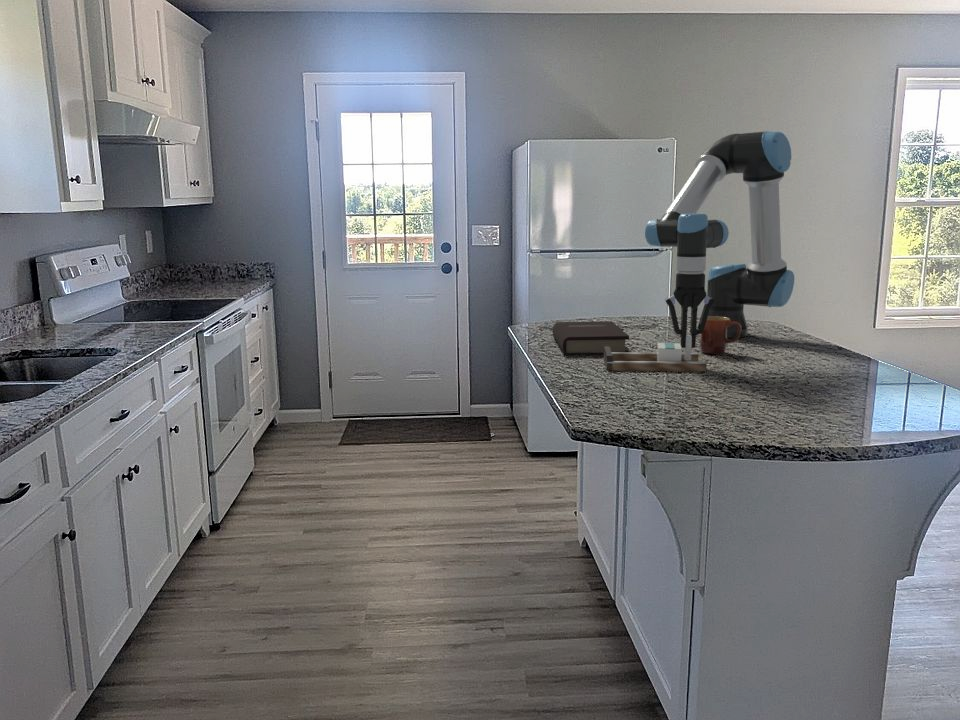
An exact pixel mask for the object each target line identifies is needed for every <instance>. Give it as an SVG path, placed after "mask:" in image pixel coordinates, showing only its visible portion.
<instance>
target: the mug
mask: <svg viewBox="0 0 960 720" xmlns="http://www.w3.org/2000/svg"><path fill="white" fill-rule="evenodd" d="M700 318H701V316H700V317H698V322H699V321H700ZM733 324H735V325H737V326H738V332H737V335H736V337H735V338H727V327H728V326H730V325H733ZM740 334H741V325H740V323H738V322H735V321H730V318H727V317H719V316H708V317H707V321H706V324H705V327H704V331H703V333H702V334H700V337H699V339H700V340H699V348H700V349H699V350H700V352H701V353H703V354H705V355H711V356H712V355H713V356H714V355H715V356H717V355H723V354H724V353H725V352H726V349H727V344H730V343H734V342H735V341H737V340H739V336H740Z"/></svg>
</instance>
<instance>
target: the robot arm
mask: <svg viewBox="0 0 960 720" xmlns="http://www.w3.org/2000/svg"><path fill="white" fill-rule="evenodd" d="M791 161H792V148H791V145H790V141H789V139H788V137H787V136H786V135H785V134H784V133H783V132H781V131H769V130H767V131H755V132H744V133H732V134H728V135H725V136H723V137H721V138H719V139H717V140H716V141H715V142H714V143H712V144H711V145H710V146H708V147H707V148H706V149H705V150H704V151H703V152H702V153H701V154H700V156H699V157H698V158H697V160H696V162H695V164H694V165H695V166H694V167H695V169H694V170H693V172H692V173H691V175H689V177H688V179H687V181H686V182H685V183H684V185H683V186H682V188H681V189H680V191H679V192H678V194H677V195H676V196H675V198H674V199H673V201H672V202H671V204H670V205H669V206H668V208H667V209H666V211H665V213H664V214H663V215H662V217H661V218H656V219H651V220H649V221H648V222H647V223H646V225H645V229H644V237H645V240H646V242H647V244H648V245H649V246H652V247H661V248H663V247H664V248H665V247H668V248H670V247H671V248H675V247H676V251H677V252H676V265H675V266H676V272H677V273H676V274H675V289H674V291H673V294H672V295H671V296H669V297H666V298H665V299H664V301H665V304H666V305H667V306H668V310H669V315H670V318H671V319H670V320H671V325H672V328H673V331H674V333H675V334H676V335H679V336H680V342H679V343H680V345H681V348H682V349H683V353H684V359H685V360H691V353H692V348H694V349H695V348H696V340H697V339H696V338H697V336H698V335H701V334H702V333H703V331H704V327H705V324H706V321H707V317H708V316H719V317H727V318H730V321H735V322H738V323H740V325H741V334H740V336H739V338H745V337H747V336H748V335H749V334H748V333H749V327H748V325H747V321H746V317H745V314H744V305H745V306H757V307H758V306H759V307H767V308H781V307H784V306H785V305H787V303H788V302H789V300H790V298H791V296H792V294H793V290H794V284H795V274H794V271H792V270H790V269H787V268H788V266H787V265H788V264H787V262H786V260H783V258H782V247H781V246H782V243H781V240H782V239H781V211H780V206H781V205H780V182H781V180H782V179H783V178H784V177H785V172H787V171H788V170H789V169H790V167H791V164H792V163H791ZM731 174H742V181H743V182H744V183H745V184H746V185H748V199H749V200H748V201H749V221H750V222H749V223H750V224H749V225H750V243H751V244H750V245H751V247H750V248H751V261H750V262H749V263H748V265H746V263H734V264H723V265H717V266H715V265H714V266H713V267H710V268H709V270H708V275H707V291H706V285H705V284H706V273H704V272H705V271H706V266H707V265H706V263H707V249H712V248H713V249H716V248H718V247H720V246H722V245H724V244H725V243H726V241H727V240H728V238H729V233H730V232H729V228H728V226H727V223H725V222H724V221H722V220H719V219H708V215H707V214H705V213H698V211H699V210H700V208H701V207H702V205H703V204H704V202H705V201H706V199H707V198H708V196H709V194H710V193H711V192H712V190H713V188H714V187H715V186H716V184H717V183H718V182H721V181H723V179H724V178H725V176H727V175H731ZM676 301H677V302H678V304H679V306H680V310H681V311H680V325H679V322H678V317H677V311H676V308H675V303H676ZM702 302H703V303H704V305H703V308H702V311H701V315H700V317H701V318H700V317H699V318H700V321H699V320H698V309H699V306H700V305H701V303H702ZM689 308H690V325H689V326H690V329H689V331H690V332H689V334H687V333H688V332H687V328H688V312H689V311H688V310H689ZM697 325H698V326H697ZM737 332H738V326H737V325H735V324H733V325H730V326H728V327H727V338H728V339H733V338H735V337H736V335H737ZM739 338H738V339H739Z"/></svg>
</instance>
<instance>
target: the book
mask: <svg viewBox="0 0 960 720" xmlns="http://www.w3.org/2000/svg"><path fill="white" fill-rule="evenodd" d="M552 326H553V327H552V335H553V339H554V340H555V342H556V343H557V345H558V347H559V348H560V350H561V351H562V353H563V355H565V356H566V357H569V356H604V346H609V347H610V350H611V352H629V351H628V350H627V349H626V340H630V335H628V334H627V332H625V331H624V330H622V328H620V327H619V326H618V325H617V323H615V322H614V321H610V320H609V321H607V320H605V321H604V320H603V321H559V322H558V321H557V322H555V323H554V324H553V325H552Z"/></svg>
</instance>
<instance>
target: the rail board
mask: <svg viewBox="0 0 960 720" xmlns="http://www.w3.org/2000/svg"><path fill="white" fill-rule="evenodd" d="M603 363H604V366H605V370H606V371H623V372H624V371H627V372H628V371H633V372H634V371H636V372H638V371H639V372H640V371H641V372H642V371H644V372H645V371H647V372H648V371H649V372H653V371H654V372H655V371H657V372H660V371H661V372H662V371H663V372H664V371H665V372H707V363H708V362H707V361H699V352H691V360H685V359H684V352H681V362H680V361H657V352H629V351H628V352H611V350H610V347H609V346H604V355H603Z"/></svg>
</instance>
